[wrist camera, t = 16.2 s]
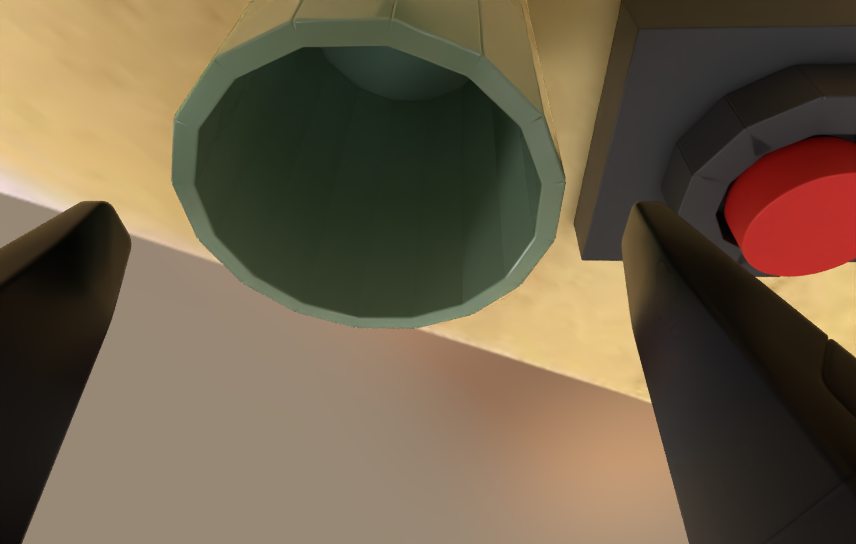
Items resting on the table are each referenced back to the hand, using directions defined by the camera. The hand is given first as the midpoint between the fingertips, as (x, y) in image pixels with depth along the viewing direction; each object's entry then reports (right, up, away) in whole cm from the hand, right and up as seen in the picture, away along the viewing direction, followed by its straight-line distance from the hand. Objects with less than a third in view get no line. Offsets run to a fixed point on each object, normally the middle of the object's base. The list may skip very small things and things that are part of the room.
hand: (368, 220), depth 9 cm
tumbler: (0, +7, +7) cm, 10 cm away
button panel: (+13, +4, +10) cm, 16 cm away
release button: (+12, +2, +7) cm, 14 cm away
